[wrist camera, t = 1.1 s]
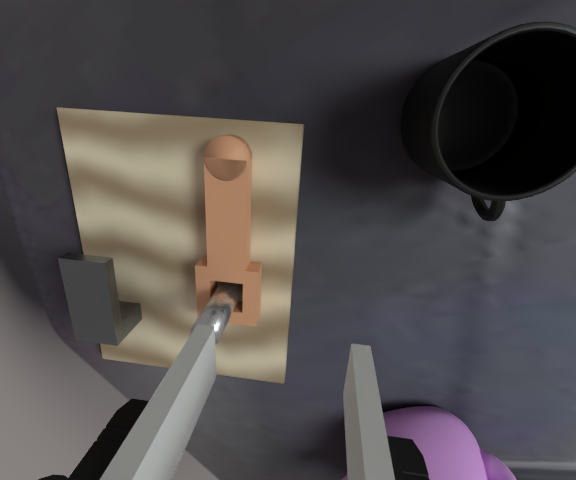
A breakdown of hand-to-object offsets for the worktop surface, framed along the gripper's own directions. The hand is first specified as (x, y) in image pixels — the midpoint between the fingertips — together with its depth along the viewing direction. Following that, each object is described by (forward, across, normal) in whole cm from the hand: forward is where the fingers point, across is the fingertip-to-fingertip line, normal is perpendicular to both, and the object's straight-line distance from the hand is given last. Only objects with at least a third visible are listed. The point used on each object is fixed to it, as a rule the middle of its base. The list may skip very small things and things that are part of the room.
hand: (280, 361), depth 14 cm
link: (+17, -7, -1) cm, 19 cm away
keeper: (+18, -20, -8) cm, 27 cm away
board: (+19, -12, -5) cm, 23 cm away
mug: (+19, +12, +9) cm, 24 cm away
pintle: (+18, -7, -7) cm, 20 cm away
